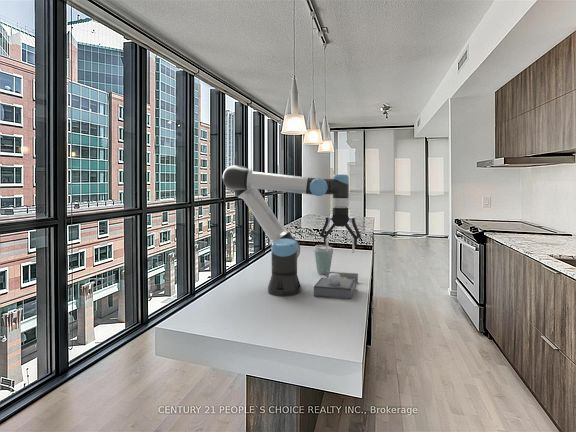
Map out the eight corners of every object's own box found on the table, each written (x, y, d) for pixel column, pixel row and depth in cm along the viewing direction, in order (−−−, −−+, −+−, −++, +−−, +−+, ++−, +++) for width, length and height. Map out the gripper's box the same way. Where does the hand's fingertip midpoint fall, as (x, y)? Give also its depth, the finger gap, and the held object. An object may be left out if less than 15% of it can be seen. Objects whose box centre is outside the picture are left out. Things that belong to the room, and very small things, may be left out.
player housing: (350, 299, 166) (350, 278, 165) (313, 296, 170) (314, 276, 170) (355, 289, 181) (355, 270, 180) (321, 286, 186) (321, 268, 185)
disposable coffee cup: (333, 271, 218) (333, 244, 217) (333, 275, 207) (333, 248, 206) (314, 270, 219) (314, 244, 218) (313, 275, 208) (313, 247, 207)
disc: (338, 284, 183) (338, 281, 183) (328, 281, 190) (328, 277, 190) (351, 282, 187) (351, 279, 187) (341, 279, 194) (341, 276, 194)
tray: (353, 290, 178) (354, 281, 178) (320, 288, 183) (320, 279, 182) (357, 282, 194) (358, 273, 194) (326, 279, 198) (327, 271, 198)
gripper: (367, 207, 185) (366, 251, 187) (317, 206, 192) (316, 249, 194) (365, 208, 178) (364, 254, 180) (313, 207, 185) (313, 251, 187)
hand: (340, 251), depth 187 cm, fingers open, 12 cm apart
